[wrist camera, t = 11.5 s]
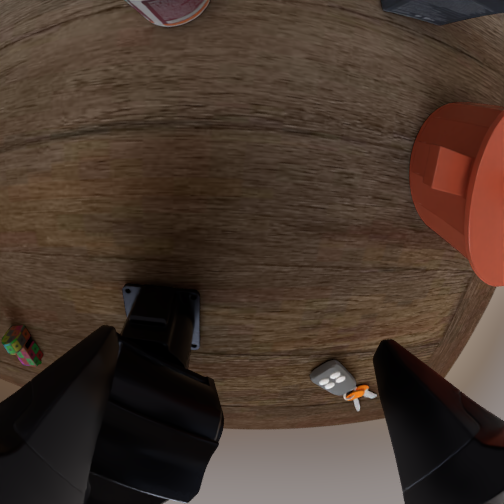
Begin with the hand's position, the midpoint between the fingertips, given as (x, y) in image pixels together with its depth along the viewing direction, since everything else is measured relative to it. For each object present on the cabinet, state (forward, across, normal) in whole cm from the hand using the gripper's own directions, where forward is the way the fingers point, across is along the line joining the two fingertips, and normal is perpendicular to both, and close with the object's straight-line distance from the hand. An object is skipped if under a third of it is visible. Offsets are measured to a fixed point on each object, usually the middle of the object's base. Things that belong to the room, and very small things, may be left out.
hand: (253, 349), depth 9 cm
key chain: (+13, -14, +20) cm, 28 cm away
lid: (+6, -18, -6) cm, 20 cm away
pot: (+13, -18, -6) cm, 23 cm away
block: (+13, +25, +18) cm, 34 cm away
